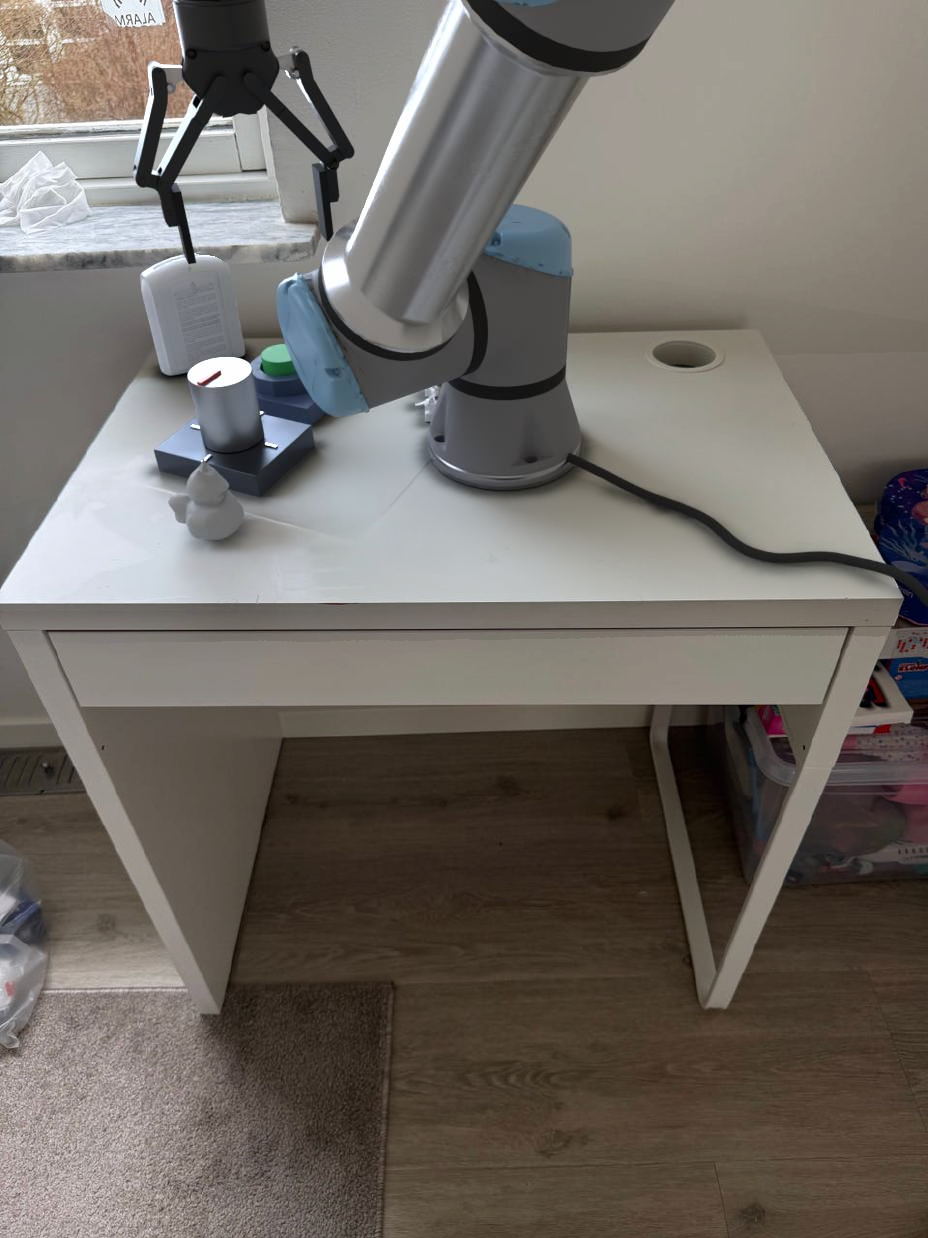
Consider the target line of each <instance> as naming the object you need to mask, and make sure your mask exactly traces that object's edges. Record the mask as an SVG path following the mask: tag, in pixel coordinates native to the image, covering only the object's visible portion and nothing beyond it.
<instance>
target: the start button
mask: <svg viewBox="0 0 928 1238" xmlns="http://www.w3.org/2000/svg"><path fill="white" fill-rule="evenodd" d="M260 355H261V359H262V365H263V370H264V372H265V374H268V375H273V376H287V375H291V374H294V373H297V371H296V369H295V367H294V365H293V362H292V360H291V357H290V355H289V352H288V350H287V347H286V344H285V343H278V344H274V345H270V346H268V347H266V348H265V349H263V350H262V351H261V353H260Z"/></svg>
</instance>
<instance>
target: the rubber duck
mask: <svg viewBox="0 0 928 1238" xmlns="http://www.w3.org/2000/svg"><path fill="white" fill-rule="evenodd" d="M228 488H229V484H228V482H227V481H226V480H225V479H224V478H223V477H222V476H221V475H220V474H219V473H218V472H217V471H216V470H215V469H214V468H213V467H211V466H210V465H209V464H207V463H206V462H205V459H204V458H203V460H202V463H201V465H200V466H199V467H198V468H197V469H196V470H195V471H194V472H193V473H192V474H191V475H190V477H189V479H188V478H187V481H186V491H187V494H186V493H184V492H183V493H182V492H178V493H173V494H172V495H171V496H170V497H169V498H168V502H167V503H168V505H169V507H170V508H171V510H172V511H173V512H174V518H175V520H176V522H177V523H180V524H184V525H186V527H187V528H188V529H187V530H188V531H189V533H190V535H191V536H192V537H193V538H195V539H199V540H200V539H201V540H214V541H217V540H218V541H219V540H224V539H227V538H228V537H230V536H231V535H233V534H234V533H235V532H236V531H237V530H238V529H239V528H240V526H241V524H242V523H243V521H244V519H245V518H244V517H245V510H244V508H243V505H242V504H241V502H240V501H239V500H238V499H237V498H236V496H235V495H234V494H233V493H232V492H231V490H229V489H228Z"/></svg>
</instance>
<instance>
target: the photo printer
mask: <svg viewBox="0 0 928 1238" xmlns="http://www.w3.org/2000/svg"><path fill="white" fill-rule="evenodd" d="M196 253H197V252H194V254H195V259H196V263H194V264H188V262H187V260H186V258H185V256H184V254H180V255H176V256H171V257H169V258H166V259H164V260H161V261H160V262H157V263H155V264H154V265H152V266H150V267H148V268H147V269H145V270H143V271H142V272H141V273H140V275H139V280H140V291H141V295H142V299H143V303H144V307H145V311H146V315H147V320H148V322H149V327H150V331H151V332H150V333H151V336H152V340H153V344H154V349H155V353H156V357H157V360H158V364H159V368H160V371H161V373H162V374H164V375H166V376H170V377H171V376H177V375H182V374H187V373H188V372H189V371H190V369H191V368H192V367H194V366H195V365H197V364H199V363H201V362H203V361H206V360H210V359H214V358H222V357H232V358H239V359H240V358H241V357H244V356H245V354H246V349H245V342H244V337H243V332H242V326H241V321H240V316H239V310H238V309H239V308H238V304H237V299H236V292H235V288H234V282H233V281H234V280H233V276H232V273H231V270H230V269H231V268H230V266H229V264H228V262H227V263H223V262H224V261H222V260H221V259H219V258H217V257H215V256H210V255H199V254H196Z"/></svg>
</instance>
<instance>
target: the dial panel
mask: <svg viewBox="0 0 928 1238" xmlns="http://www.w3.org/2000/svg"><path fill="white" fill-rule="evenodd" d="M260 414H261V419H262V424H263V430H264V436H263V438H262V440H261V441H260V442H259V443H258V444H256V445H255V446H253V447H251V448H249V449H246V450H243V451H238V452H231V453H223V452H216V451H213V450H210V449H208V448H207V447H206V446H205V445H204V443H203V440H202V436H201V432H200V428H199V423H198V419H197V415H196V416H194V418H192V419H191V420H190V421H188V422H187V423H186V424H184V425H183V426H182V427H181V428H179V429H178V430H176V431H175V432H174V433H173V434H172V435H170V436H169V437H168V438H166V440H164V441H163V442H161V443H160V444H159V445H157V446H156V447H155V448H154V449H153V453H154V457H155V460H156V464H157V467H158V470H159V472H163V473H166V474H170V475H175V476H178V477H180V478H185V479H187V480H188V479H189V477H190V475H191V474H192V473H193V472H194V471H195V470H196V469H197V468H198V467H199V466H200V465H201V463H202V460H203V458H204V459H205V462H206V463H207V464H209V465H210V466H211V467H213V468H214V469H215V470H216V471H217V472H218V473H219V474H220V475H221V476H222V477H223V478H224V479H225V480H226V481H227V482H228V484H229V488H228V490H229V491H234V492H238V493H242V494H245V495H248V496H253V497H257V498H261V497H262V496H264V494H266V493H267V492H268V491H269V490H270V489H271V488H272V487H273V486H274V485H275V484H276V483H277V482H278V481H280V480H281V479H282V478H283V477H284V476H285V475H286V474H287V473H288V472H289V471H290V470H291V469H292V468H293V467H294V466H296V465H297V464H298V463H299V462H300V461H301V460H302V459H303V458H304V457H305V456H306V455H308V453H309V452H311V450H313V449H314V448H315V438H314V431H313V425H308V424H304V423H299V422H295V421H291V420H286V419H282V418H278V417H274V416H269V415H265V414H264V412H262V411H261V412H260Z"/></svg>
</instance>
